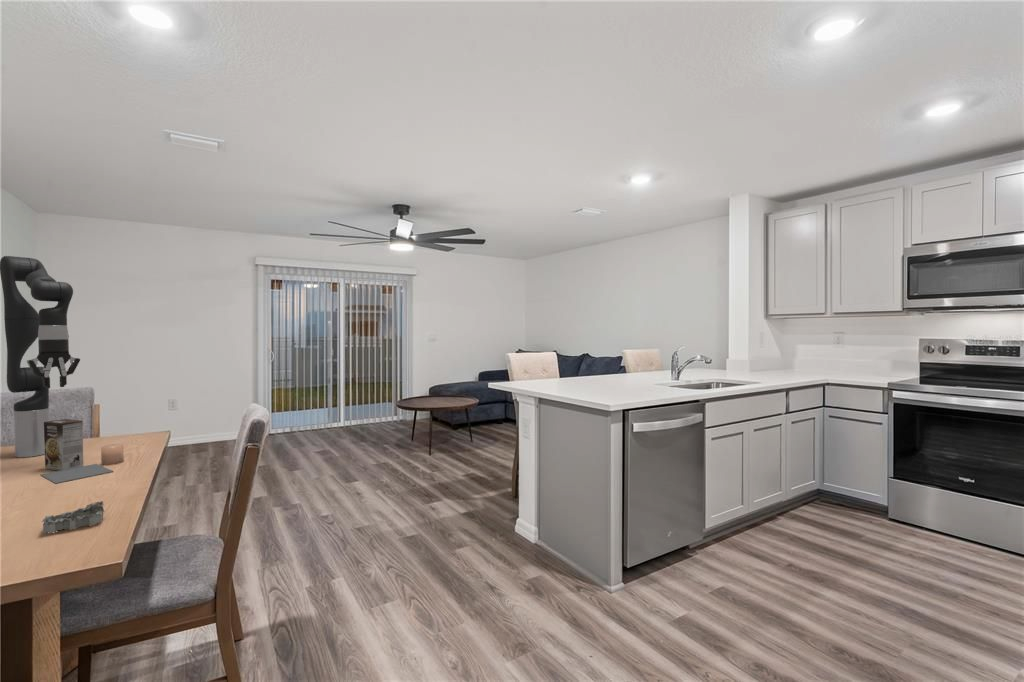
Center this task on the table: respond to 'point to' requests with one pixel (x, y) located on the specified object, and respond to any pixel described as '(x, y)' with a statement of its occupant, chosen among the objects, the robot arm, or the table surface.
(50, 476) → the mat
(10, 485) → the table surface
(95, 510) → the ruined stone wall
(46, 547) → the table surface
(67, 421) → the coffee box
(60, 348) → the robot arm
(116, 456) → the beige short cylinder
